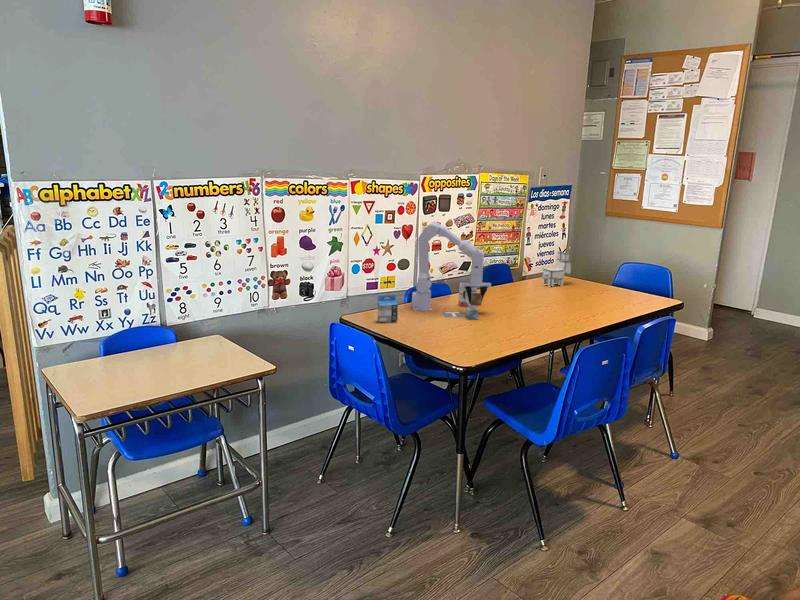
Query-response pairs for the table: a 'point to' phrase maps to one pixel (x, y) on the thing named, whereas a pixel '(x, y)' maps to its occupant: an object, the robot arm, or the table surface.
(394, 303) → the label tape box
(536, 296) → the table surface
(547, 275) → the toy llama
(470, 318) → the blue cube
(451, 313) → the letter card
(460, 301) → the ink box
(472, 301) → the walnut block
